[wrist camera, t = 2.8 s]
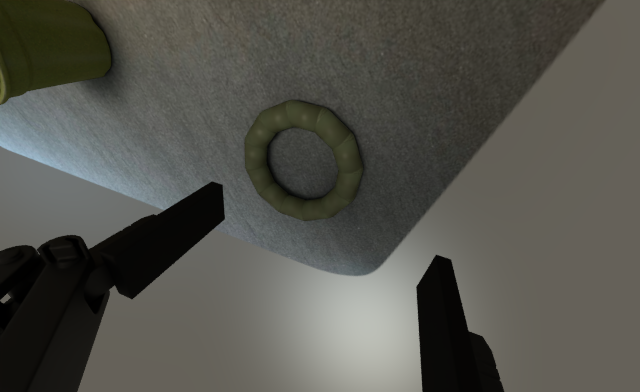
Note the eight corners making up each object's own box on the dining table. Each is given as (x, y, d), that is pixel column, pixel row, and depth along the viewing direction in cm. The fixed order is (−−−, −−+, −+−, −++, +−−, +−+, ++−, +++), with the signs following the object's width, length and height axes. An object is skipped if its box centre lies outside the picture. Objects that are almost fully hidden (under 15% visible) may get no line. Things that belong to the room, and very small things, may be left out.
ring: (378, 118, 18) (376, 123, 16) (347, 226, 24) (342, 238, 22) (252, 87, 20) (238, 89, 18) (251, 194, 26) (241, 203, 24)
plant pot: (68, 80, 26) (-59, 87, 19) (30, -31, 21) (-163, -80, 14) (135, 104, 25) (25, 121, 18) (111, -9, 20) (-56, -51, 13)
